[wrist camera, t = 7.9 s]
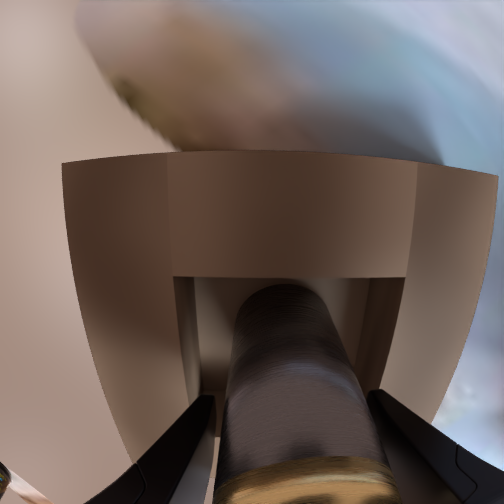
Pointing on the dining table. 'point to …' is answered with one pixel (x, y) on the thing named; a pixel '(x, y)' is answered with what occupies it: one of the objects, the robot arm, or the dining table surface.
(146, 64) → the dining table surface
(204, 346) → the holder block
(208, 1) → the dining table surface
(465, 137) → the dining table surface
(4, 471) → the supplement container
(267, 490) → the battery cell
